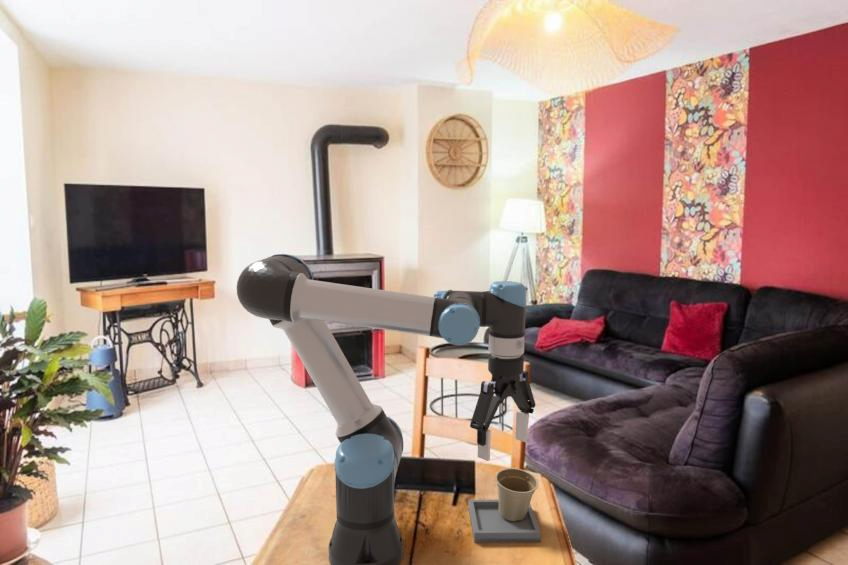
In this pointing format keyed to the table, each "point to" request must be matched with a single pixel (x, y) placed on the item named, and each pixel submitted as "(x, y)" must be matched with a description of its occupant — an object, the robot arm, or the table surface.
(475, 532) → the plant tray
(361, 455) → the robot arm
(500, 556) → the table surface
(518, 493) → the flower pot
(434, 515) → the table surface
